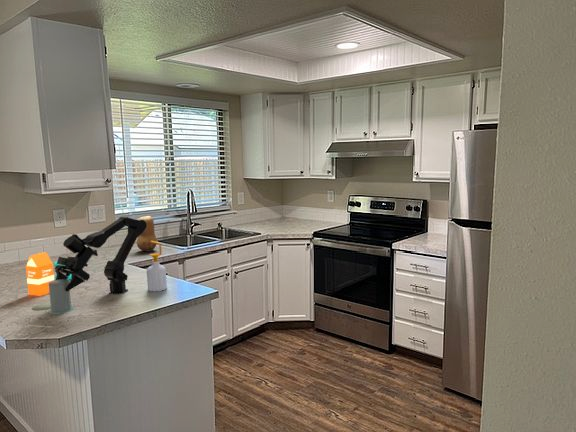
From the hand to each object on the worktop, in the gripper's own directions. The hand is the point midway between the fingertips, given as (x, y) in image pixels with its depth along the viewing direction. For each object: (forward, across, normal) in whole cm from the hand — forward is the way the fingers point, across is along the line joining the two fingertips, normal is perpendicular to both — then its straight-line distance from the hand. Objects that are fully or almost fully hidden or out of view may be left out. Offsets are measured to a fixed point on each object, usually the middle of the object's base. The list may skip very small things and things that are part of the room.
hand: (60, 289), depth 187 cm
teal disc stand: (+7, 0, +6) cm, 9 cm away
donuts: (-14, -48, +28) cm, 58 cm away
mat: (+8, -11, +5) cm, 14 cm away
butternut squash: (-62, -65, +77) cm, 118 cm away
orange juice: (+1, -33, +13) cm, 36 cm away
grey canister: (+7, 0, +6) cm, 9 cm away
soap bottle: (-22, +13, +36) cm, 44 cm away
